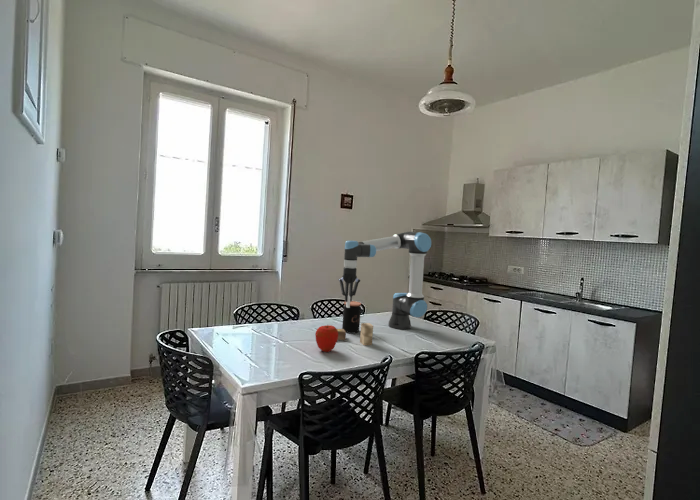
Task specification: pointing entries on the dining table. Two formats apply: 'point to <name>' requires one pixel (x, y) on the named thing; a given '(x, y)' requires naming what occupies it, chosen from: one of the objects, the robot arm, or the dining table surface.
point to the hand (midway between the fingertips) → (347, 307)
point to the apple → (326, 337)
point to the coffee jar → (351, 317)
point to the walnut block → (341, 334)
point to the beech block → (366, 334)
